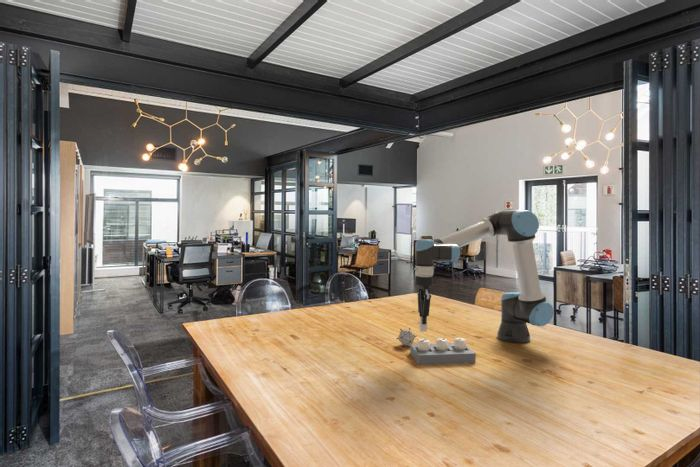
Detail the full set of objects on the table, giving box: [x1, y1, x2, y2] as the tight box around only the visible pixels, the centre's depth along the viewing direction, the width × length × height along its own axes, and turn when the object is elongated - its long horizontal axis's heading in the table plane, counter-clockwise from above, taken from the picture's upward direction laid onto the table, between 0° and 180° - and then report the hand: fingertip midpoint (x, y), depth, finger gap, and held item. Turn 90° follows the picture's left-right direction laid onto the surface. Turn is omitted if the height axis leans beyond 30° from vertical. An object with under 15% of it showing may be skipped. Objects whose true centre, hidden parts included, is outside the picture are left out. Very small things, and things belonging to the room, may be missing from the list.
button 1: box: [453, 337, 467, 351], centre depth 172 cm, size 5×5×5 cm
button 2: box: [435, 337, 449, 351], centre depth 171 cm, size 5×5×5 cm
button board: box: [409, 342, 477, 366], centre depth 172 cm, size 24×14×4 cm, turn 96°
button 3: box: [417, 338, 431, 352], centre depth 171 cm, size 5×5×5 cm
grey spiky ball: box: [396, 327, 418, 348], centre depth 188 cm, size 9×8×10 cm
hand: (423, 331), depth 170 cm, fingers closed
